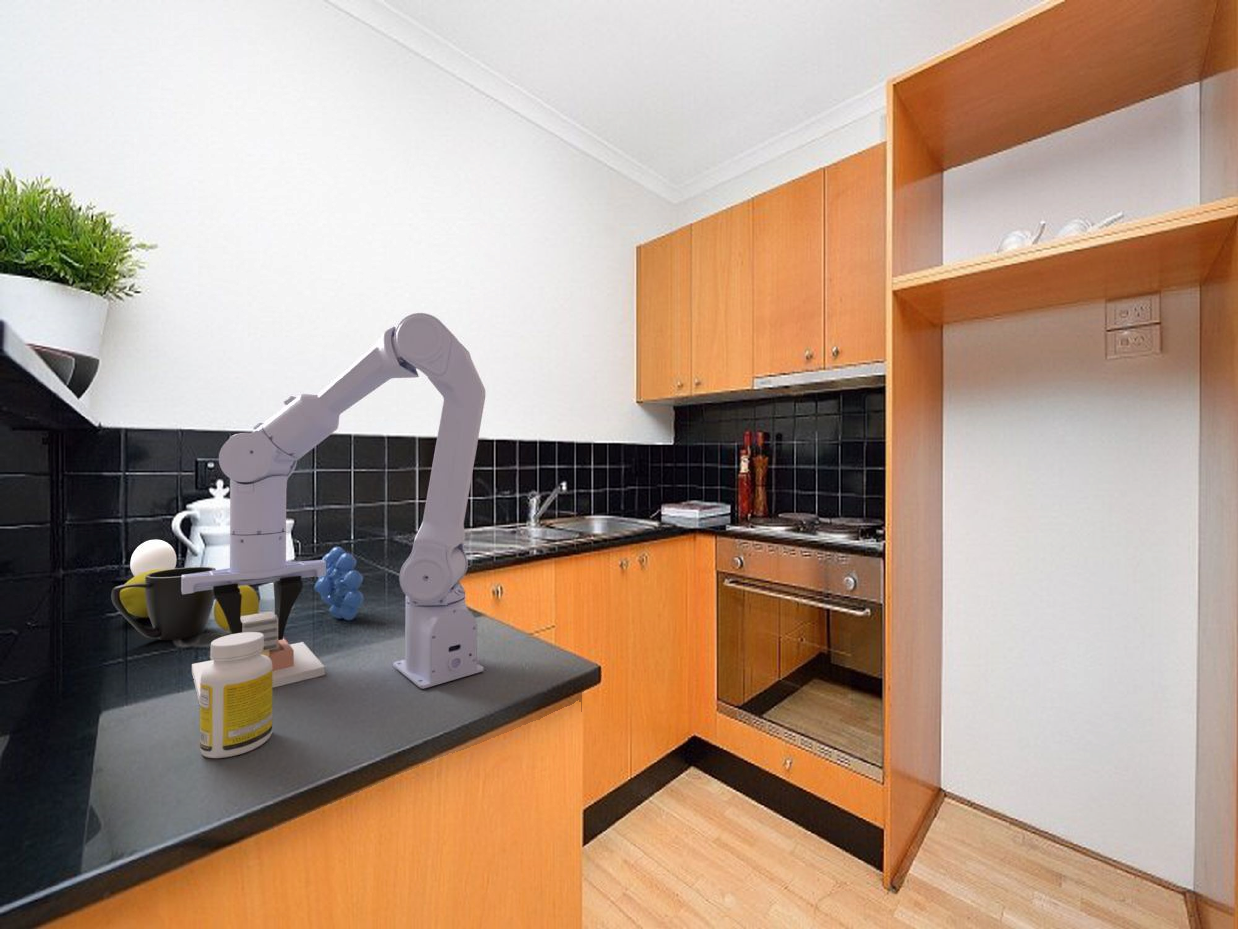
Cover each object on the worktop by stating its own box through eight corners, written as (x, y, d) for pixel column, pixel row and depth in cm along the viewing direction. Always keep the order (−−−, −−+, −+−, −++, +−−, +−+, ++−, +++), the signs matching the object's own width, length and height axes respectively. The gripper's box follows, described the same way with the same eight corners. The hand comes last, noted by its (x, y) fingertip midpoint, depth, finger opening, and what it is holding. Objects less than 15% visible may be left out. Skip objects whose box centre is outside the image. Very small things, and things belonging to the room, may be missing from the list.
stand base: (324, 674, 63) (324, 645, 63) (199, 705, 55) (199, 671, 55) (302, 649, 72) (302, 623, 72) (191, 672, 64) (191, 643, 64)
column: (278, 664, 63) (278, 617, 63) (242, 672, 61) (242, 623, 61) (272, 656, 66) (272, 611, 66) (238, 663, 64) (238, 616, 64)
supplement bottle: (285, 728, 50) (285, 628, 50) (246, 760, 45) (247, 648, 45) (228, 729, 50) (229, 629, 50) (183, 761, 45) (184, 649, 45)
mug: (100, 645, 73) (100, 578, 73) (201, 623, 84) (201, 564, 84) (122, 656, 69) (123, 585, 69) (225, 631, 80) (226, 569, 80)
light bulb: (133, 594, 102) (133, 539, 102) (177, 589, 106) (178, 536, 106) (127, 602, 96) (127, 543, 96) (174, 596, 100) (174, 540, 100)
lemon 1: (183, 606, 94) (184, 562, 94) (204, 612, 90) (204, 566, 90) (102, 622, 84) (103, 573, 84) (121, 629, 80) (121, 578, 80)
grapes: (296, 619, 86) (297, 547, 86) (337, 609, 92) (338, 542, 92) (331, 632, 80) (331, 554, 80) (373, 621, 85) (373, 548, 85)
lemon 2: (234, 641, 75) (235, 586, 75) (203, 638, 76) (204, 585, 76) (267, 629, 80) (268, 578, 80) (238, 627, 82) (238, 577, 82)
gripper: (317, 525, 72) (316, 622, 71) (180, 534, 62) (179, 647, 62) (330, 529, 66) (330, 635, 66) (183, 540, 56) (182, 664, 56)
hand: (258, 642), depth 64 cm, fingers closed on column, 4 cm apart
